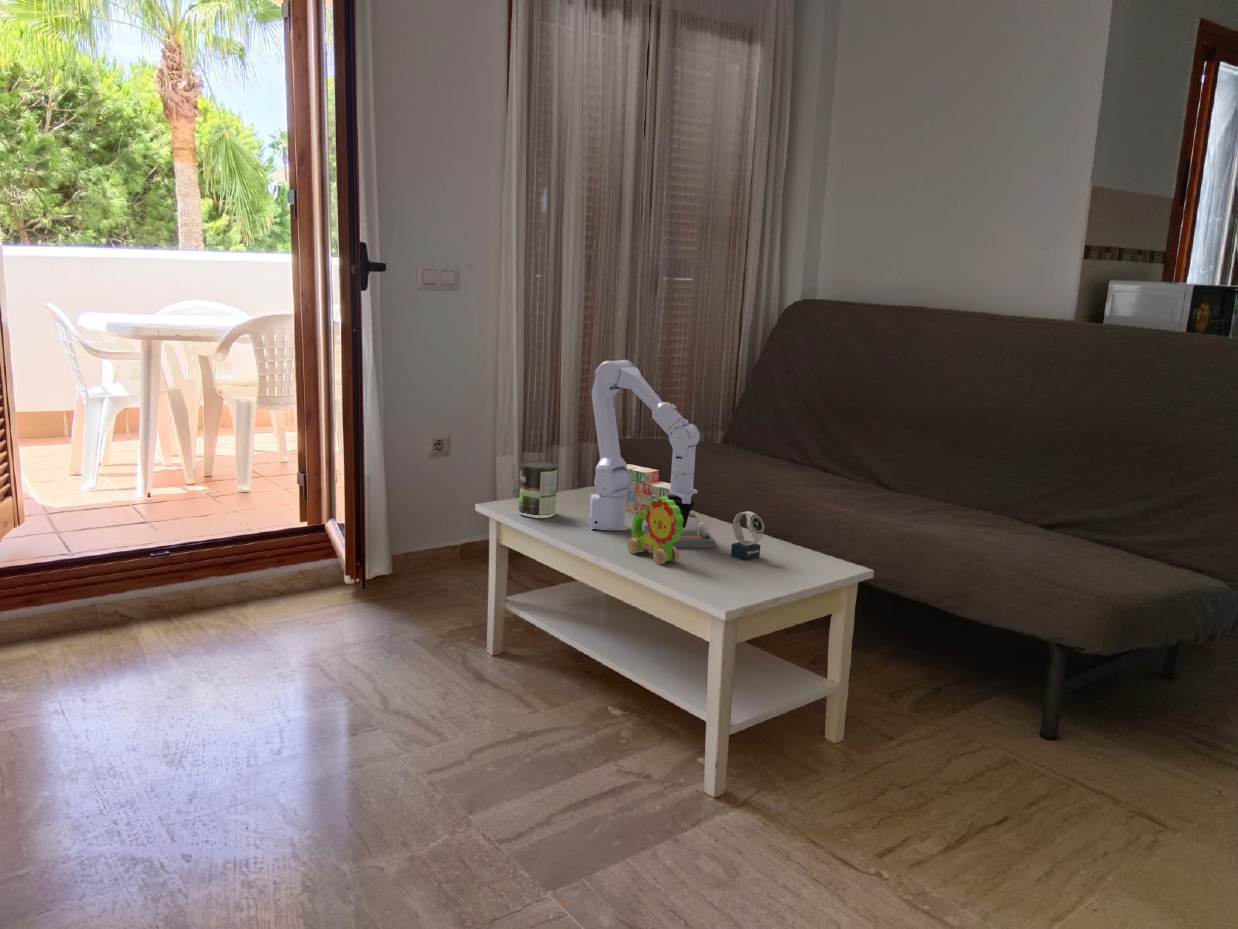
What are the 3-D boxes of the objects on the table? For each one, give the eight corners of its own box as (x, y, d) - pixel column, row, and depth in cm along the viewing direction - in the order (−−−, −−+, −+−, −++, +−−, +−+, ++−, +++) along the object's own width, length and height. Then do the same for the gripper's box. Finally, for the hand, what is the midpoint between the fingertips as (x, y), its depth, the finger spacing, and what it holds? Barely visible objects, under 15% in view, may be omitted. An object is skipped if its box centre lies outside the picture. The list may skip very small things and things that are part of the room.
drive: (662, 536, 231) (663, 516, 230) (659, 532, 234) (661, 512, 234) (697, 537, 232) (698, 517, 231) (694, 532, 236) (695, 513, 235)
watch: (750, 562, 217) (754, 517, 215) (725, 554, 222) (728, 510, 221) (766, 559, 220) (769, 514, 218) (740, 551, 226) (743, 507, 224)
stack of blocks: (680, 518, 257) (683, 475, 255) (665, 521, 253) (668, 478, 251) (627, 504, 272) (629, 463, 270) (612, 506, 268) (614, 465, 266)
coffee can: (519, 518, 247) (521, 467, 245) (517, 509, 257) (518, 460, 255) (557, 518, 249) (559, 467, 247) (553, 510, 259) (555, 461, 257)
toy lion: (625, 552, 220) (628, 490, 217) (642, 549, 224) (646, 488, 221) (668, 569, 208) (672, 503, 205) (686, 565, 211) (690, 501, 209)
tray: (651, 547, 225) (652, 530, 225) (643, 532, 239) (644, 517, 238) (714, 548, 227) (716, 531, 227) (703, 533, 241) (704, 518, 240)
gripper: (704, 478, 224) (700, 532, 226) (692, 467, 238) (689, 518, 240) (675, 478, 223) (672, 532, 225) (665, 467, 237) (662, 518, 239)
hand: (679, 525), depth 233 cm, fingers closed on drive, 4 cm apart
